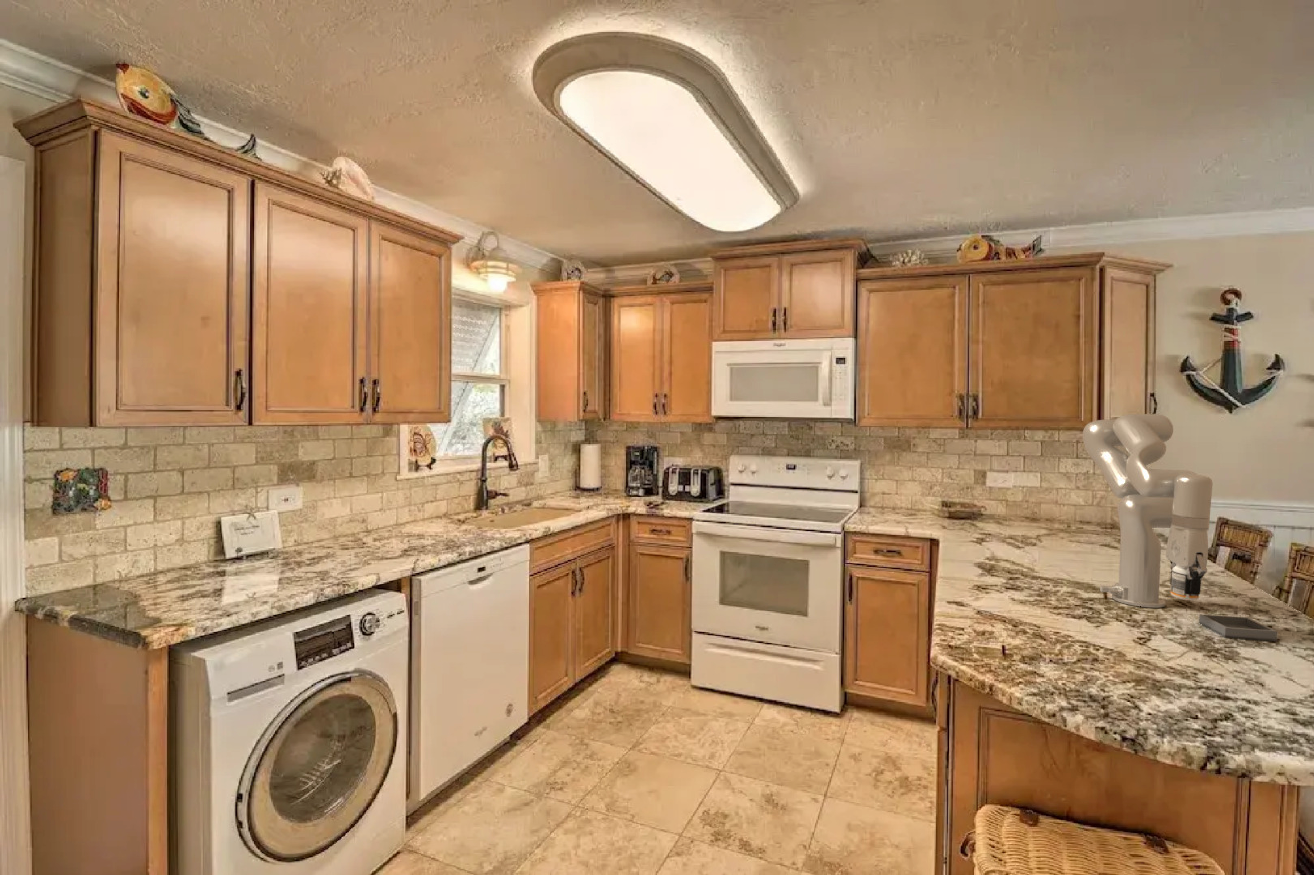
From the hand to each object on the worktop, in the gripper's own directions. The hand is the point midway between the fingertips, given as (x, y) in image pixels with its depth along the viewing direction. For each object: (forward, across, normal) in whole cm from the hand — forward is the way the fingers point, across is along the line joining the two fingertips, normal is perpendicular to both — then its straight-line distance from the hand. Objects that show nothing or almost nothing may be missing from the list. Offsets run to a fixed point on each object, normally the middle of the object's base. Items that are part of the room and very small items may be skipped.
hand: (1184, 589), depth 168 cm
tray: (+9, +4, +10) cm, 14 cm away
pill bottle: (+2, 0, 0) cm, 2 cm away
